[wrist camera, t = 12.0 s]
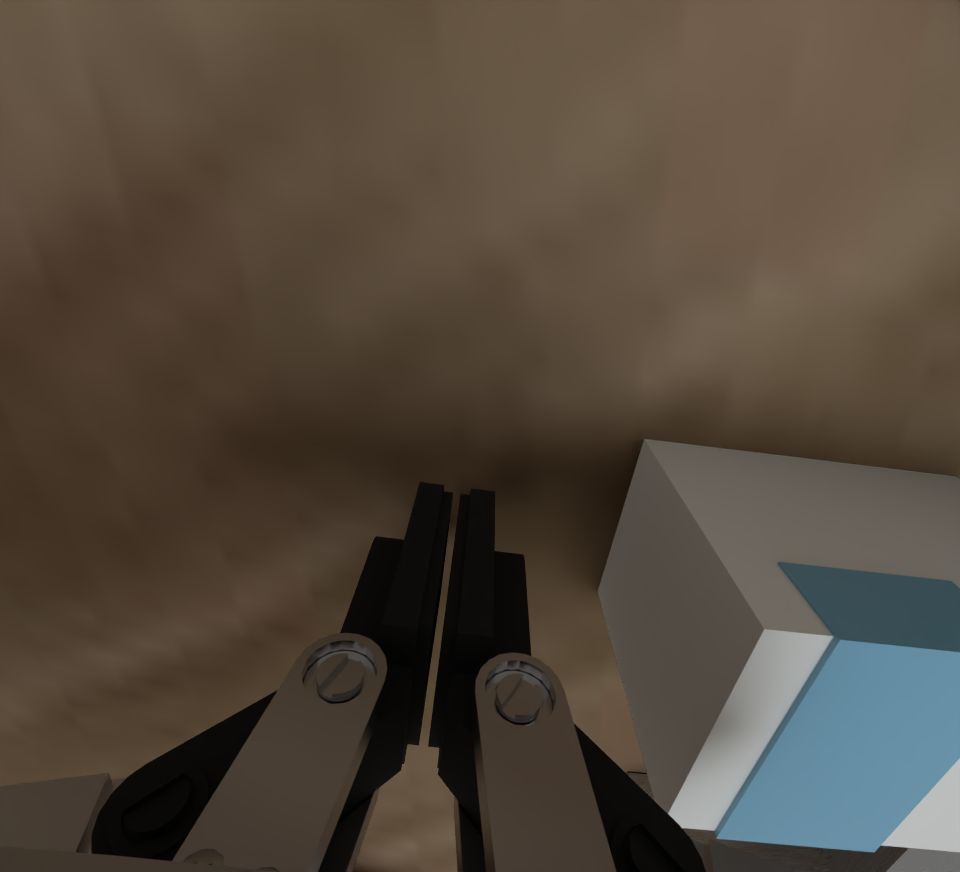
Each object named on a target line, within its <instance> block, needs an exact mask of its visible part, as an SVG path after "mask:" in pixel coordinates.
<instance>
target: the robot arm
mask: <svg viewBox="0 0 960 872" xmlns="http://www.w3.org/2000/svg"><path fill="white" fill-rule="evenodd" d="M452 497H453V493H451V492H444V485H440V484H432V483H424V482H420V484H419V487H418V491H417V495H416V498H415V502H414V506H413V509H412V513H411V517H410V521H409V524H408V528H407V532H406V535H405V539H404V540H401V539H393V538H385V537H377V536H376V537H375V538H374V541H373V543H372V546H371V549H370V551H369V554H368V557H367V560H366V563H365V565H364V568H363V571H362V574H361V577H360V579H359V582H358V585H357V588H356V591H355V593H354V596H353V599H352V602H351V605H350V607H349V610H348V613H347V616H346V619H345V621H344V624H343V627H342V630H341V633H340V634H332V635H329V636H327V637H324V638H322V639H319V640H317V641H316V642H314V643H313V644H311V645H310V646H309V647H307V648H306V649H305V650H304V651H303V653H302V654H301V655H300V656H299V657H298V659H297V660H296V662H295V663H294V665H293V667H292V668H291V670H290V671H289V673H288V675H287V676H286V678H285V679H284V681H283V683H282V684H281V686H280V688H279V689H278V690H277V691H275V692H273V693H272V694H270V695H268V696H266V697H265V698H263V699H261V700H259V701H257V702H256V703H254V704H252V705H250V706H249V707H247V708H245V709H243V710H242V711H240V712H238V713H236V714H234V715H233V716H231V717H229V718H227V719H226V720H224V721H222V722H220V723H218V724H217V725H215V726H213V727H211V728H210V729H208V730H206V731H204V732H202V733H201V734H199V735H197V736H195V737H194V738H192V739H190V740H188V741H186V742H185V743H183V744H181V745H179V746H178V747H176V748H174V749H172V750H170V751H169V752H167V753H165V754H163V755H162V756H160V757H158V758H156V759H154V760H153V761H151V762H149V763H147V764H146V765H144V766H143V767H141V768H140V769H138V770H137V771H136V772H134V773H133V774H131V775H130V776H128V777H127V778H121V779H113V780H111V778H110V775H109V773H103V774H95V775H87V776H79V777H71V778H63V779H56V780H48V781H40V782H32V783H24V784H16V785H8V786H0V872H352V871H353V868H354V866H355V863H356V860H357V857H358V854H359V851H360V848H361V845H362V842H363V839H364V836H365V833H366V830H367V827H368V825H369V822H370V819H371V816H372V813H373V810H374V807H375V804H376V801H377V798H378V793H379V787H381V786H382V785H383V784H384V783H386V782H387V781H388V780H389V779H391V778H392V777H393V776H394V775H396V774H397V773H398V772H399V771H401V767H402V764H404V761H405V755H406V749H407V744H412V745H419V740H420V733H421V726H422V719H423V712H424V705H425V698H426V691H427V684H428V677H429V671H430V664H431V657H432V650H433V643H434V636H435V629H436V622H437V615H438V608H439V601H440V594H441V587H442V579H443V571H444V562H445V554H446V546H447V538H448V530H449V522H450V513H451V505H452ZM494 545H495V491H487V490H479V489H471V492H470V495H467V494H461V496H460V503H459V511H458V518H457V526H456V534H455V541H454V549H453V557H452V564H451V572H450V580H449V587H448V595H447V603H446V611H445V618H444V626H443V634H442V642H441V650H440V658H439V665H438V673H437V681H436V689H435V697H434V705H433V713H432V720H431V728H430V736H429V744H428V746H429V747H438V748H439V758H438V767H437V768H439V770H438V775H439V776H440V778H441V779H442V780H443V782H444V783H445V784H446V786H447V787H448V788H449V790H450V791H451V792H452V793H453V795H454V796H455V798H454V820H455V837H456V854H457V871H458V872H797V871H795V870H792V869H789V868H787V867H784V866H781V865H778V864H776V863H773V862H770V861H768V860H765V859H762V858H760V857H757V856H754V855H752V854H749V853H746V852H744V851H741V850H738V849H735V848H733V847H730V846H727V845H725V844H722V843H719V842H717V841H714V840H711V839H709V841H708V843H707V844H706V845H705V844H702V843H699V842H697V841H694V840H691V838H690V837H689V836H688V835H687V834H686V832H685V831H684V830H683V829H682V828H681V827H680V825H679V824H678V823H677V822H676V821H675V820H674V819H673V818H672V817H671V816H670V815H669V814H668V813H667V812H666V811H664V810H663V809H662V808H661V807H660V806H659V805H658V804H657V803H656V802H655V801H654V800H653V799H652V798H651V797H650V796H649V795H648V794H647V793H646V792H645V791H644V790H643V789H642V788H641V787H640V786H638V785H637V784H636V783H635V782H634V781H633V780H632V779H631V778H630V777H629V776H628V775H627V774H626V773H625V772H624V771H623V770H622V769H621V768H620V767H619V766H618V765H617V764H616V763H615V762H614V761H612V760H611V759H610V758H609V757H608V756H607V755H606V754H605V753H604V752H603V751H602V750H601V749H600V748H599V747H598V746H597V745H596V744H595V743H594V742H593V741H592V740H591V739H590V738H589V737H588V736H586V735H585V734H584V733H583V732H582V731H581V730H580V729H579V728H578V727H577V726H576V725H575V724H574V723H573V719H572V716H571V712H570V709H569V705H568V702H567V698H566V695H565V691H564V689H563V687H562V684H561V682H560V680H559V678H558V677H557V675H556V674H555V673H554V672H553V671H552V669H551V668H550V667H549V666H547V665H546V664H544V663H543V662H542V661H540V660H539V659H537V658H534V657H532V656H531V646H530V632H529V617H528V602H527V588H526V573H525V560H524V556H523V555H522V554H514V553H506V552H498V551H494Z"/></svg>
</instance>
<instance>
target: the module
mask: <svg viewBox="0 0 960 872" xmlns="http://www.w3.org/2000/svg"><path fill="white" fill-rule="evenodd" d="M598 595H599V599H600V603H601V606H602V610H603V614H604V617H605V621H606V625H607V628H608V632H609V636H610V639H611V643H612V647H613V650H614V654H615V658H616V661H617V665H618V669H619V672H620V676H621V680H622V683H623V687H624V691H625V694H626V698H627V702H628V705H629V709H630V713H631V716H632V720H633V724H634V727H635V731H636V735H637V738H638V742H639V745H640V749H641V753H642V756H643V760H644V764H645V767H646V771H647V775H648V778H649V782H650V786H651V789H652V793H653V797H654V800H655V802H656V803H657V804H658V805H659V806H660V807H661V808H662V809H663V810H664V811H666V812H667V813H668V814H669V815H670V816H671V817H672V818H673V819H674V820H675V821H676V822H677V823H678V824H679V825H680V827H681V828H688V829H700V830H711V831H714V834H715V837H716V839H726V840H737V841H749V842H760V843H772V844H783V845H795V846H806V847H818V848H829V849H841V850H852V851H864V852H875V851H876V850H877V849H878V848H879V847H880V846H881V845H882V846H893V847H905V848H916V849H928V850H939V851H950V852H960V479H959V478H957V477H956V476H949V475H941V474H932V473H924V472H916V471H907V470H899V469H891V468H882V467H874V466H866V465H857V464H849V463H841V462H833V461H824V460H816V459H808V458H799V457H791V456H783V455H774V454H766V453H758V452H749V451H741V450H733V449H724V448H716V447H708V446H700V445H691V444H683V443H675V442H666V441H658V440H650V439H644V441H643V444H642V448H641V451H640V454H639V457H638V461H637V464H636V467H635V471H634V474H633V477H632V480H631V484H630V487H629V490H628V494H627V497H626V500H625V503H624V507H623V510H622V513H621V517H620V520H619V523H618V526H617V530H616V533H615V536H614V539H613V543H612V546H611V549H610V553H609V556H608V559H607V562H606V566H605V569H604V572H603V576H602V579H601V582H600V585H599V589H598Z"/></svg>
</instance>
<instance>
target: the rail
mask: <svg viewBox="0 0 960 872" xmlns="http://www.w3.org/2000/svg"><path fill="white" fill-rule="evenodd" d="M628 776H629V777H630V778H631V779H632V780H633V781H634V782H635V783H636V784H637V785H638V786H640V787H641V788H642V789H643V790H644V791H645V792H646V793H647V794H648V795H649V796H650V797H651V798H652V799H653V800H654V797H653V793H652V789H651V786H650V782H649V778H648V775H647V774H638V773H628ZM654 801H655V800H654ZM682 829H683V830H684V831H685V832H686V834H687V835H688V836H689V837H690V838H691V840H694V841H697V842H699V843H702V844H705V845H706V844H707V843H708V841H709V839H711V840H714V841H717V842H719V843H722V844H725V845H727V846H730V847H733V848H735V849H738V850H741V851H744V852H746V853H749V854H752V855H754V856H757V857H760V858H762V859H765V860H768V861H770V862H773V863H776V864H778V865H781V866H784V867H787V868H789V869H792V870H795V871H797V872H960V852H950V851H939V850H928V849H916V848H905V847H893V846H882V845H881V846H880V847H879V848H878V849H877V850H876V851H875V852H864V851H852V850H841V849H829V848H818V847H806V846H795V845H783V844H772V843H760V842H749V841H737V840H726V839H716V837H715V834H714V831H711V830H700V829H688V828H682Z"/></svg>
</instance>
